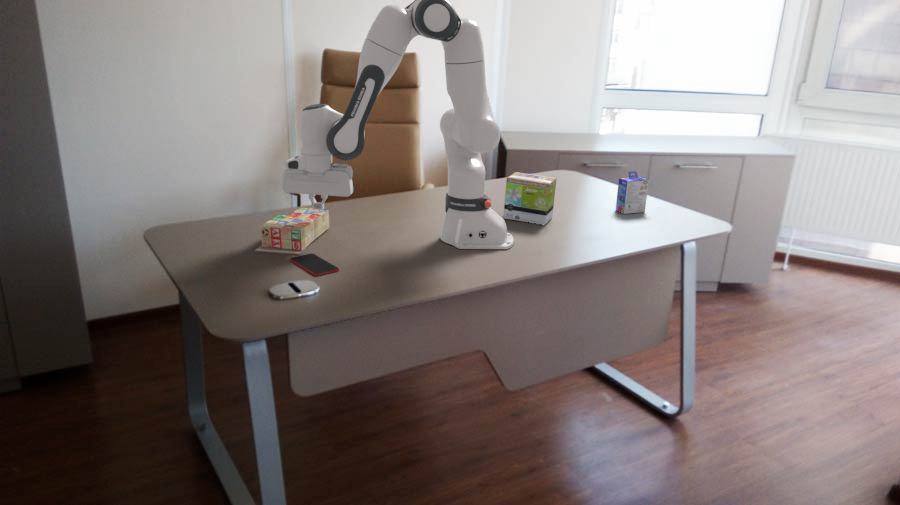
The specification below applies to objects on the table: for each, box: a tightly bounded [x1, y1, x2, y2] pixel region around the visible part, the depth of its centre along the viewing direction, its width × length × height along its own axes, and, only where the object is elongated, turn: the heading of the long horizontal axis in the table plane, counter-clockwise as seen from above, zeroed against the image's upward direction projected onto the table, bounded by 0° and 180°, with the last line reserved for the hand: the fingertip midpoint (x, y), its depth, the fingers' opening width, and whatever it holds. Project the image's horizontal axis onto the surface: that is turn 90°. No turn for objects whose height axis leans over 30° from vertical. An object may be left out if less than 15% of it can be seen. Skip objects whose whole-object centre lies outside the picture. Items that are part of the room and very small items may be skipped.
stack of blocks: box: [260, 207, 330, 251], centre depth 193 cm, size 21×6×12 cm
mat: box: [254, 244, 310, 256], centre depth 193 cm, size 13×25×1 cm, turn 174°
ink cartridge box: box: [615, 170, 650, 215], centre depth 233 cm, size 10×6×14 cm, turn 114°
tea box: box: [503, 171, 557, 226], centre depth 220 cm, size 15×10×15 cm, turn 68°
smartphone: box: [289, 253, 340, 277], centre depth 175 cm, size 7×1×15 cm
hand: (318, 208), depth 189 cm, fingers closed
